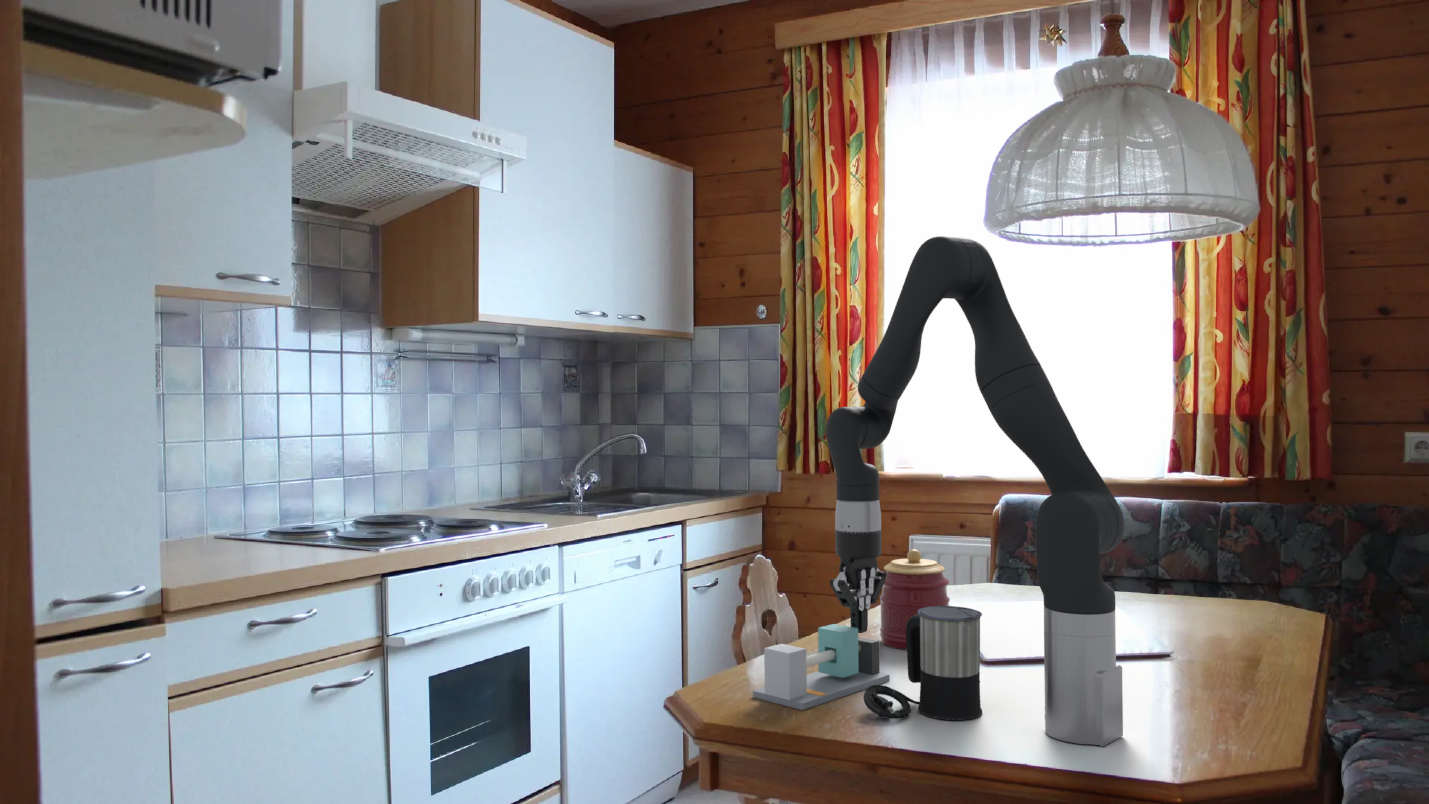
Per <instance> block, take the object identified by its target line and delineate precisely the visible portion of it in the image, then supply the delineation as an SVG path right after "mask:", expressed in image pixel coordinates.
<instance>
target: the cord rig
mask: <svg viewBox="0 0 1429 804" xmlns="http://www.w3.org/2000/svg"><path fill="white" fill-rule="evenodd" d="M763 651H764V656H763V658H764V661H763V662H764V663H763V664H764V665H763V666H764V687H761V688H757V689H754V690H752V698H754V699H758V700H763V701H765V702H770V703H774V704H776V705H782V706H786V707H788V708H794V709H796V710H800V711H805V710H807V709H810V708H813V707H816V706H819V705H822V704H824V703H828V702H831V701H834V700H836V699H839V698H843V697H845V696H850V695H852V694H854V693H855V694H856V693H857V692H860V691H863V690H864V691H865V690H866V689H867V688H868V687H869V686H872V685H881V684H884V683H887V682H890V681H891V680H890V674H888V673H883V672H880V640H877V639H871V638H865V637H860V636H858V670H859V673H857V674H854V675H851V676H847V677H844V678H842V677H837V676H833V675H828V674H824V673H820V672H819V670H817V671H814V672H809V673H807V668H809V667H813V666H816V665H819V664H820V663H824V662H827V661H830V660H834V659H837V657H836V649H831V650H828V651H824V652H821V653H814V654H810V655H808V656H807V648H805V647H799V646H795V645H790V644H784V643H780V644H775V645H771V646H768V647H764V649H763Z"/></svg>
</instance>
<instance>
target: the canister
mask: <svg viewBox="0 0 1429 804" xmlns="http://www.w3.org/2000/svg"><path fill="white" fill-rule="evenodd" d="M883 570H885V571H884V572H886V573H887V577H886V580H885V582H884V585H883V587H882V589H881V595H879V600H880V629H879V631H880V633H879V636H880V638H881V639H880V640H881V643H882V644H883V645H885V646H887V647H890V648H895V649H899V650H900V649H901V650H907V646H906V625H907V622H908V620H909V619H910V618H911V617H912V616H914V615H916V614H919V613H918V610H919V609H921V608H924V607H932V606H950V601H951V599H950V597H949V596H948V591H947V590H948V589H947V587H948V586H949V584H950V582H951V581H950V579H948V578H947V577H946V576H944V573H943V572H945V571H946V568H945V567H944V566H942V565H941V564H939V563H938V562H937V561H936V560H933V559H927V558H922V554H921V552H920V551H919V550H918V549H917V548H916V549H913V548H911V549H910V550H908V552H907V554H906V558H898V559H893V560H891V561H890V563H887V564H886V565H885V566H884V567H883Z"/></svg>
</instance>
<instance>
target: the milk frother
mask: <svg viewBox="0 0 1429 804" xmlns="http://www.w3.org/2000/svg"><path fill="white" fill-rule="evenodd" d="M918 613H919V614H916V615H914V616H912V617H911V618H910V619H909V620H908V622H907V625H906V646H907V649H906V661H907V677H908V678H907V679H908V680H909V682H911V683H912V684H916V683H920V688H919V690H920V691H919V701H917V700H914V699H911V697H909V696H907V695H905V694H904V693H902V692H900V691H898V690H896V689H895V688H892V687H890V686H887V685H881V684H879V685H872V686H869V687H868V688H867V689H864V693H863V702H864V705H865V706H866V708H867V709H868V710H869V711H871V712H872V713H873V714H875V715H877V716H878V717H879V718H887V719H895V720H897V719H899V720H900V719H904V718H906V717H908V716H909V715H910V713H911V710H912V707H911V704H914V705H915V704H916V705H917V706H918V707H917V711H918V712H919V713H920V714H922V715H924V716H926V717H930V718H934V719H937V720H945V721H967V720H973V719H976V718H979V717H980V716H982V714H983V710H982V708H981V683H980V682H981V678H980V675H981V673H980V672H981V671H980V670H981V669H980V668H981V667H980V666H981V665H980V664H981V617H982V616H983V613H982V612H981V611H979V610H977V609H974V608H969V607H964V606H963V607H962V606H953V605H949V606H932V607H924V608H921V609H919V610H918ZM881 695H883V696H886V697H887V696H888V697H890V698H893V699H894V700H896V702H898V703H899V704H900V705H901V709H898V710H894V709H893V708H892V707H893V705H894V702H893V700H888V699H887V698H885V697H883V696H881ZM910 703H911V704H910Z"/></svg>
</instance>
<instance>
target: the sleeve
mask: <svg viewBox="0 0 1429 804" xmlns="http://www.w3.org/2000/svg"><path fill="white" fill-rule="evenodd" d="M817 635H818V636H817V642H818V643H817V645H818V653H821V652H824V651H828V650H831V649H836V657H837V659H834V660H830V661H827V662H824V663H820V664H818V671H819V672H820V673H824V674H828V675H833V676H837V677H842V678H844V677H847V676H851V675H854V674H857V673H859V670H858V637H859V633H858V628H853V627H851V626H847V625H841V624H836V623H832V624H828V625H823V626H819V627H818V629H817Z"/></svg>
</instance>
